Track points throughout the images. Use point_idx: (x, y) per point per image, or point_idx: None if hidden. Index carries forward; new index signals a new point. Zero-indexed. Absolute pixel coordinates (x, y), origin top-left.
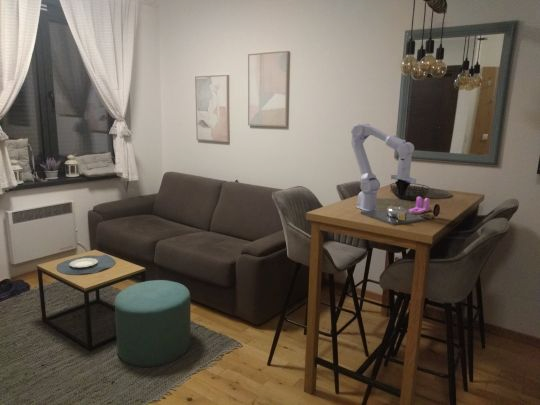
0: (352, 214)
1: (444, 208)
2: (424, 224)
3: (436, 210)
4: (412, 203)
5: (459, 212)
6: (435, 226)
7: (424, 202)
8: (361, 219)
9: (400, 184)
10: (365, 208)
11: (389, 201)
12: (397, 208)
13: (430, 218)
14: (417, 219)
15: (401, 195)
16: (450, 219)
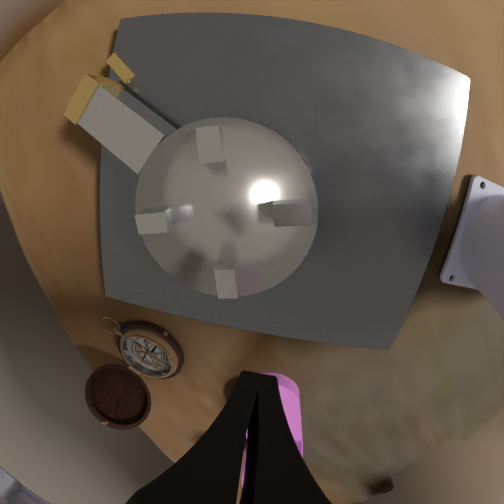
0: (470, 30)
1: None
2: (63, 220)
3: (123, 399)
4: (363, 469)
5: None
6: (32, 235)
7: None
8: None
9: (197, 501)
10: (500, 195)
11: (448, 433)
12: (230, 230)
13: (118, 334)
14: (101, 239)
15: (238, 380)
16: None
